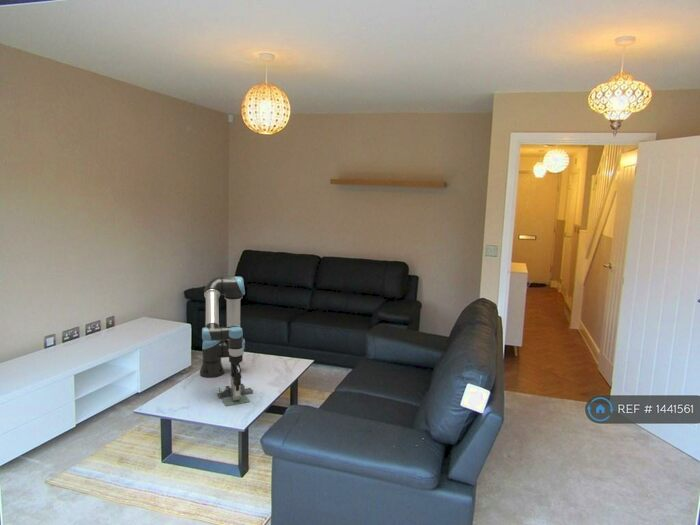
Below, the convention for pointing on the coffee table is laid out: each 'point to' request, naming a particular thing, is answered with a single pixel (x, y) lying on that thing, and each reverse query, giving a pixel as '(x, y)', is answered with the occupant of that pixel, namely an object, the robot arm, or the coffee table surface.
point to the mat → (235, 401)
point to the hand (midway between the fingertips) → (235, 393)
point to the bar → (234, 388)
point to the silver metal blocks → (227, 392)
